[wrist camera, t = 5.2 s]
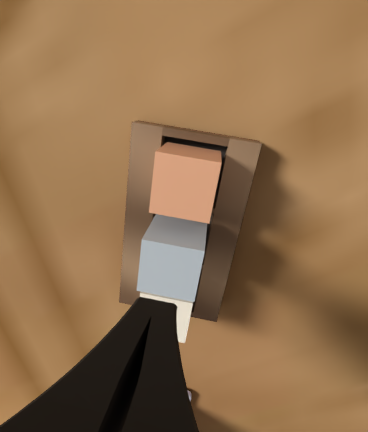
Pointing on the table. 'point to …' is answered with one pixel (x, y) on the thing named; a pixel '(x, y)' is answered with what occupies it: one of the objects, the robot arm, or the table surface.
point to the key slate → (172, 257)
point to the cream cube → (182, 312)
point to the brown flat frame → (216, 229)
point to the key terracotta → (184, 181)
